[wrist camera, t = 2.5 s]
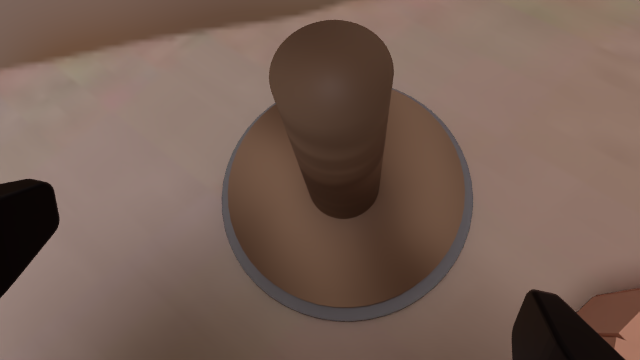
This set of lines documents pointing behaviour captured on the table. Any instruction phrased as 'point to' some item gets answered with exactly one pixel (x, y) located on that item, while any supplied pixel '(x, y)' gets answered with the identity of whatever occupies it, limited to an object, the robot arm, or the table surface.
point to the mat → (366, 311)
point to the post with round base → (344, 175)
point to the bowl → (616, 320)
